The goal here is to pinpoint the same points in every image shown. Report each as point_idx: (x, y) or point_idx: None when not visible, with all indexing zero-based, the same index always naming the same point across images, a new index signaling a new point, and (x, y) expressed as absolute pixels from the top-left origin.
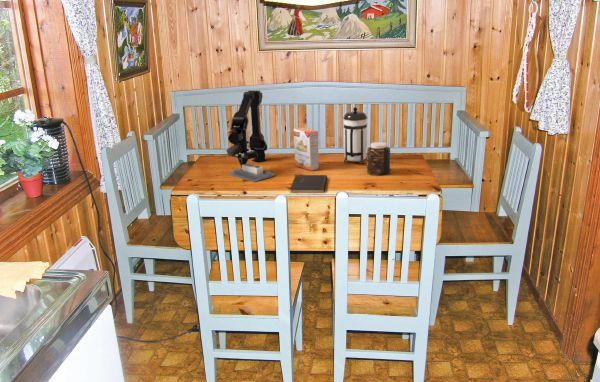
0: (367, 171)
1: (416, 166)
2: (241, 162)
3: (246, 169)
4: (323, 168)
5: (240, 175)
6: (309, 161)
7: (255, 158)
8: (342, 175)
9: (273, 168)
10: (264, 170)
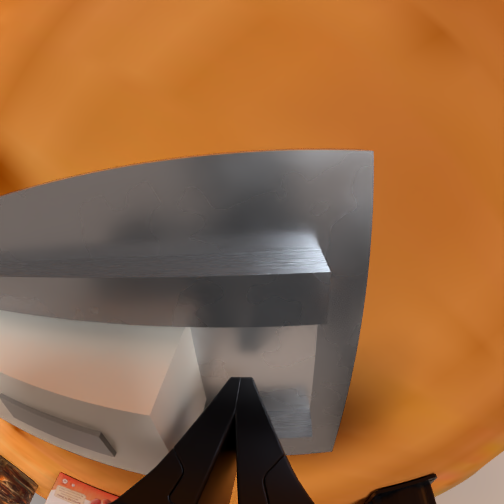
0: (10, 467)
1: (41, 495)
2: (196, 468)
3: (67, 348)
4: None
5: (60, 197)
6: (51, 502)
7: (409, 497)
8: (3, 447)
9: None
10: None
